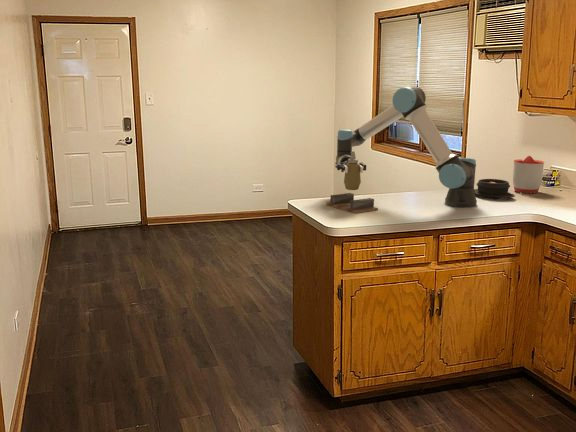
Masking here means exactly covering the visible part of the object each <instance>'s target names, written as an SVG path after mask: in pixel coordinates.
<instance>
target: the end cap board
mask: <svg viewBox="0 0 576 432" xmlns="http://www.w3.org/2000/svg"><path fill="white" fill-rule="evenodd" d="M329 197H330V199H329V200H330V202H326V203H325V205H326V206H329V207H331V208H335V209H338V210H342V211H346V212H349V213H353V214H360V213H368V212H373V211H374V212H375V211H378V210H379V207H376V206H375V198H370V197H367V198H359V199H354V198H355V194H354V193H351V192H349V193H348V192H346V193H340V194H339V193H338V194H331V195H330V196H329Z"/></svg>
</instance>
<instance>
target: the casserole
mask: <svg viewBox="0 0 576 432" xmlns="http://www.w3.org/2000/svg"><path fill="white" fill-rule="evenodd" d="M476 186H477V188H474V192H475V195H479V196H480V197H482V198H486V199H493V200H494V199H495V200H496V199H509V198H510V199H512V198H515V197H516V195H515V194H513V193H511V192H509V189H510V187H511V185H510V182H509V181H508V180H505V179H500V178H499V179H497V178H483V179H478V181H477V183H476Z"/></svg>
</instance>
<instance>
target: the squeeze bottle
mask: <svg viewBox="0 0 576 432" xmlns="http://www.w3.org/2000/svg"><path fill="white" fill-rule="evenodd" d="M346 166H347V167H348V173H346V172H345V171H344V177H343V184H344V186H345V190H349V191H356V190H359V188H360V184H361V182H362V180H361V178H362V177H361V172H360V165H359V159H358V158H357V157H356V153H355V151H354V150H352V154H351V158H350V159H348V164H346Z"/></svg>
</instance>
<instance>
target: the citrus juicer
mask: <svg viewBox="0 0 576 432" xmlns="http://www.w3.org/2000/svg"><path fill="white" fill-rule="evenodd" d="M544 163H545V162H544V161H543V160H537V159H534V158H533V157H532V156H531V155H527V157H526V158H524V159H514V160H513V170H512V184H513V189H514V191H515V192H517V193H519V194H536V193H538V192H539V190H540V188H541V185H542V182H543V174H544V165H545V164H544Z"/></svg>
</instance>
